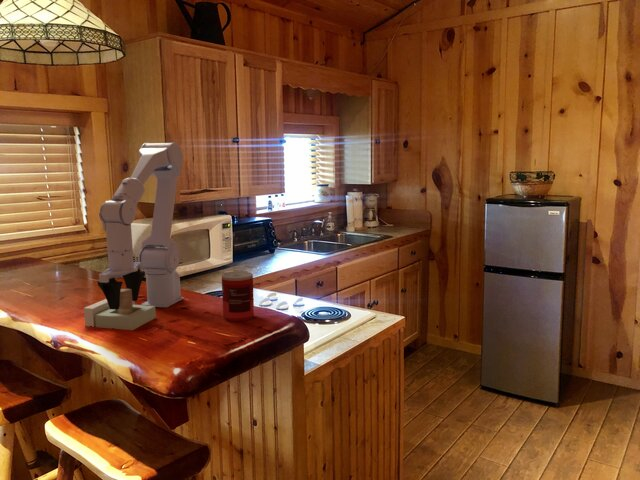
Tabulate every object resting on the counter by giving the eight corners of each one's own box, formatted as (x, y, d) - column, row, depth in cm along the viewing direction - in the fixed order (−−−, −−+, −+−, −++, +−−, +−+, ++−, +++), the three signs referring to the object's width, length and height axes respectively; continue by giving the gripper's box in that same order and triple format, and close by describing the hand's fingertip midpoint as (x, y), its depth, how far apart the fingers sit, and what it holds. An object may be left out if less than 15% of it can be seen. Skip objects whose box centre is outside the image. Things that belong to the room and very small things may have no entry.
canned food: (239, 310, 142) (237, 269, 140) (260, 316, 137) (259, 273, 135) (216, 317, 136) (214, 275, 134) (238, 323, 131) (236, 279, 129)
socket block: (121, 315, 139) (120, 303, 139) (155, 317, 136) (155, 306, 136) (95, 327, 129) (95, 315, 129) (132, 330, 127) (131, 317, 126)
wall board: (127, 306, 147) (126, 290, 146) (135, 307, 146) (133, 291, 145) (85, 326, 130) (83, 308, 130) (93, 326, 130) (92, 308, 129)
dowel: (122, 319, 135) (119, 288, 134) (136, 320, 135) (134, 288, 133) (115, 324, 131) (113, 292, 130) (130, 324, 131) (127, 292, 130)
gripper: (116, 256, 122) (120, 314, 125) (151, 245, 136) (154, 297, 138) (89, 255, 124) (93, 312, 126) (127, 244, 138) (130, 296, 140)
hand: (124, 304), depth 132 cm, fingers open, 7 cm apart
